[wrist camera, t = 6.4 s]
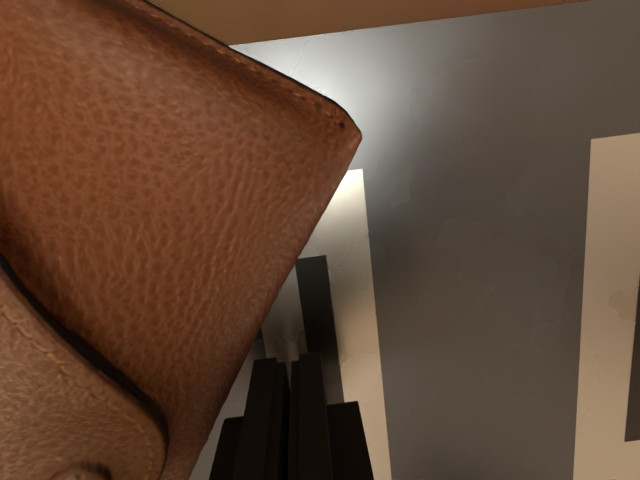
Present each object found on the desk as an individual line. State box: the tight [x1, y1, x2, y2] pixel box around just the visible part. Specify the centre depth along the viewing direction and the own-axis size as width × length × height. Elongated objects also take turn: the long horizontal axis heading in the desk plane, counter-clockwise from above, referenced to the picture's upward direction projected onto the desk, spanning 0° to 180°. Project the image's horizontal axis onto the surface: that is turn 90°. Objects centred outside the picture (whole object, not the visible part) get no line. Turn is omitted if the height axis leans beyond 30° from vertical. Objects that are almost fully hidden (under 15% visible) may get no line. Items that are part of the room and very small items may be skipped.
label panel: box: [189, 0, 640, 480], centre depth 12 cm, size 20×17×1 cm
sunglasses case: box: [0, 0, 362, 480], centre depth 10 cm, size 18×7×7 cm
